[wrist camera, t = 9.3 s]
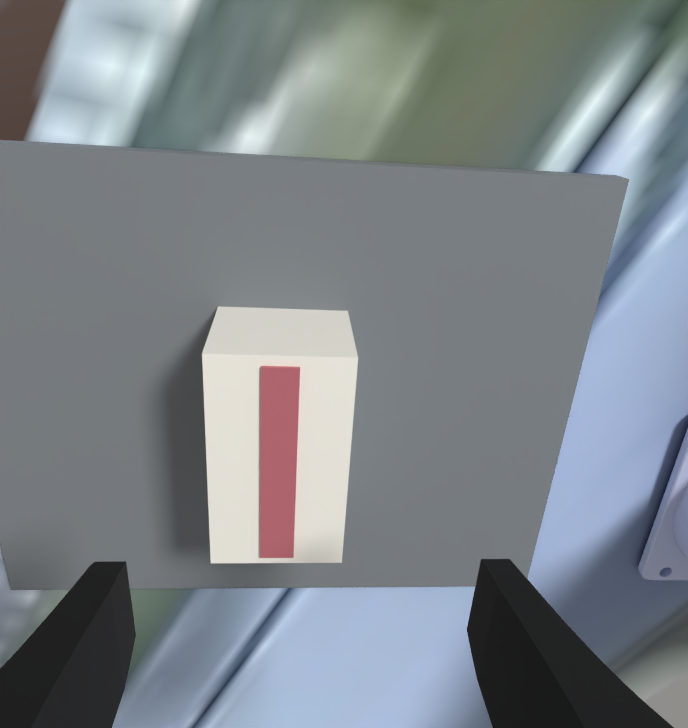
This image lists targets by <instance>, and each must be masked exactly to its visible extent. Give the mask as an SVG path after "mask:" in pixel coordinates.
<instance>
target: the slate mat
mask: <svg viewBox="0 0 688 728" xmlns="http://www.w3.org/2000/svg"><path fill="white" fill-rule="evenodd" d="M628 182H629V179H626V178H623V177H620V176H616V175H601V174H583V173H566V172H549V171H531V170H514V169H496V168H479V167H462V166H444V165H427V164H410V163H392V162H375V161H358V160H340V159H323V158H305V157H288V156H271V155H253V154H236V153H219V152H201V151H184V150H166V149H149V148H132V147H114V146H97V145H80V144H62V143H45V142H28V141H10V140H9V141H8V140H0V545H1V549H2V554H3V558H4V562H5V567H6V571H7V575H8V580H9V584H10V588H11V590H40V589H71V588H72V587H73V586H74V585H75V583H76V582H77V581H78V580H79V578H80V577H81V576H82V575H83V573H84V572H85V571H86V570H87V568H88V567H89V566H90V565H91V564H92V563H94V562H113V561H126V564H127V572H128V580H129V587H130V589H175V588H310V587H444V586H476V581H477V576H478V571H479V566H480V561H481V559H510V560H511V561H512V562H513V563H514V564H515V565H516V567H517V568H518V569H519V570H520V571H521V572H522V574H523V575H524V576H525V577H526V578H527V577H528V573H529V569H530V565H531V561H532V558H533V554H534V550H535V546H536V542H537V538H538V534H539V530H540V526H541V522H542V518H543V514H544V511H545V507H546V503H547V499H548V495H549V491H550V487H551V483H552V479H553V475H554V471H555V467H556V464H557V460H558V456H559V452H560V448H561V444H562V440H563V436H564V432H565V428H566V424H567V420H568V417H569V413H570V409H571V405H572V401H573V397H574V393H575V389H576V385H577V381H578V377H579V374H580V370H581V366H582V362H583V358H584V354H585V350H586V346H587V342H588V338H589V334H590V330H591V327H592V323H593V319H594V315H595V311H596V307H597V303H598V299H599V295H600V291H601V287H602V283H603V280H604V276H605V272H606V268H607V264H608V260H609V256H610V252H611V248H612V244H613V240H614V236H615V233H616V229H617V225H618V221H619V217H620V213H621V209H622V205H623V201H624V197H625V193H626V189H627V186H628ZM218 306H220V307H249V308H279V309H308V310H337V311H348V314H349V318H350V323H351V327H352V332H353V336H354V341H355V346H356V350H357V355H358V367H357V379H356V392H355V404H354V417H353V429H352V442H351V454H350V467H349V479H348V492H347V504H346V517H345V529H344V542H343V554H342V563H211V559H210V535H209V510H208V486H207V462H206V438H205V413H204V389H203V365H202V352H203V349H204V346H205V343H206V340H207V338H208V335H209V332H210V329H211V326H212V323H213V320H214V317H215V314H216V311H217V308H218Z"/></svg>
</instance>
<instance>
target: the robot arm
mask: <svg viewBox="0 0 688 728" xmlns="http://www.w3.org/2000/svg"><path fill="white" fill-rule="evenodd" d="M638 570H639V572H640V574H641V575H642V577H643V578H644V579H646V580H688V429H687V432H686V434H685V437H684V440H683V443H682V446H681V448H680V451H679V454H678V457H677V460H676V462H675V465H674V468H673V471H672V474H671V476H670V479H669V482H668V485H667V488H666V491H665V493H664V496H663V499H662V502H661V505H660V507H659V510H658V513H657V516H656V519H655V521H654V524H653V527H652V530H651V533H650V535H649V538H648V541H647V544H646V547H645V550H644V552H643V555H642V558H641V561H640V564H639V567H638ZM467 632H468V637H469V643H470V648H471V653H472V657H473V662H474V667H475V671H476V676H477V680H478V683H479V686H480V689H481V693H482V696H483V699H484V702H485V705H486V708H487V711H488V714H489V717H490V720H491V723H492V726H493V728H673V727H672V726H671V725H670V724H669V723H668V722H667V721H665V720H664V719H663V718H662V717H661V716H660V715H658V714H657V713H656V712H655V711H654V710H653V709H651V708H650V707H649V706H648V705H647V704H646V703H645V702H644V701H642V700H641V699H640V698H639V697H638V696H637V695H636V694H635V693H634V692H633V691H632V690H630V689H629V688H628V687H627V686H626V685H625V684H624V683H623V682H622V681H621V680H620V679H619V678H618V677H617V676H616V675H615V674H614V673H613V672H612V671H611V670H610V669H609V668H608V667H607V666H606V665H605V664H604V663H603V662H602V661H601V660H600V659H599V658H598V657H597V656H596V655H595V654H594V653H593V652H592V651H591V650H590V649H589V648H588V647H587V645H586V644H585V643H584V642H583V641H582V640H581V639H580V638H579V637H578V636H577V635H576V634H575V633H574V631H573V630H572V629H571V628H570V627H569V626H568V625H567V624H566V623H565V622H564V621H563V620H562V618H561V617H560V616H559V615H558V614H557V613H556V612H555V611H554V609H553V608H552V607H551V606H550V605H549V604H548V603H547V601H546V600H545V599H544V598H543V597H542V596H541V594H540V593H539V592H538V591H537V590H536V589H535V588H534V586H533V585H532V584H531V583H530V582H529V581H528V579H527V578H526V577H525V576H524V575H523V574H522V572H521V571H520V570H519V569H518V568H517V567H516V565H515V564H514V563H513V562H512V561H511V560H510V559H481V561H480V566H479V571H478V576H477V581H476V587H475V592H474V597H473V602H472V607H471V612H470V617H469V622H468V627H467ZM135 636H136V634H135V626H134V619H133V611H132V603H131V595H130V587H129V580H128V572H127V564H126V561H113V562H94V563H92V564H91V565H90V566H89V567H88V568H87V570H86V571H85V572H84V573H83V575H82V576H81V577H80V578H79V580H78V581H77V582H76V583H75V585H74V586H73V587H72V588H71V589H70V591H69V592H68V593H67V594H66V595H65V597H64V598H63V599H62V600H61V601H60V603H59V604H58V605H57V606H56V607H55V609H54V610H53V611H52V612H51V613H50V614H49V616H48V617H47V618H46V619H45V620H44V621H43V623H42V624H41V625H40V626H39V627H38V628H37V629H36V630H35V632H34V633H33V634H32V635H31V636H30V637H29V638H28V639H27V641H26V642H25V643H24V644H23V645H22V646H21V647H20V648H19V650H18V651H17V652H16V653H15V654H14V655H13V656H12V657H11V658H10V659H9V660H8V661H7V662H6V663H5V665H4V666H3V667H2V668H1V669H0V728H112V725H113V722H114V719H115V716H116V713H117V710H118V707H119V704H120V701H121V697H122V694H123V691H124V688H125V683H126V679H127V674H128V670H129V665H130V661H131V656H132V651H133V646H134V641H135Z"/></svg>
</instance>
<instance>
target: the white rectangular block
mask: <svg viewBox="0 0 688 728" xmlns="http://www.w3.org/2000/svg"><path fill="white" fill-rule="evenodd" d="M202 365H203V389H204V413H205V438H206V462H207V486H208V510H209V535H210V559H211V563H342V554H343V542H344V529H345V517H346V504H347V492H348V479H349V467H350V454H351V442H352V429H353V417H354V404H355V392H356V379H357V367H358V355H357V350H356V346H355V341H354V336H353V332H352V327H351V323H350V318H349V314H348V311H337V310H308V309H279V308H249V307H220V306H218V308H217V311H216V314H215V317H214V320H213V323H212V326H211V329H210V332H209V335H208V338H207V340H206V343H205V346H204V349H203V352H202Z"/></svg>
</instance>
